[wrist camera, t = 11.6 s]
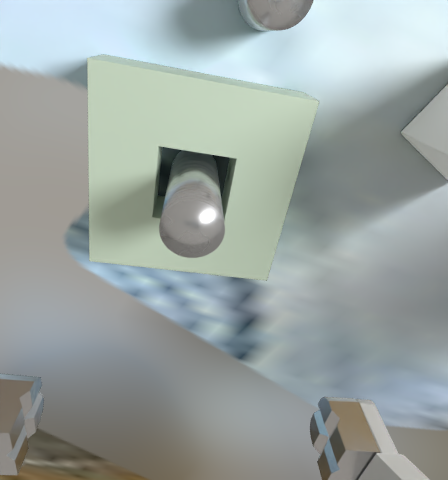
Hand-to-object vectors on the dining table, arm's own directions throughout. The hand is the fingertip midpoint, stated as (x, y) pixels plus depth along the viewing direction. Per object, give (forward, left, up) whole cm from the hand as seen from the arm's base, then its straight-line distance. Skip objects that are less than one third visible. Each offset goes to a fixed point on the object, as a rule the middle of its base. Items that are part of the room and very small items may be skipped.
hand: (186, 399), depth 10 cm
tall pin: (0, 0, -21) cm, 21 cm away
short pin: (-3, -12, -21) cm, 24 cm away
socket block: (0, 0, -20) cm, 20 cm away
